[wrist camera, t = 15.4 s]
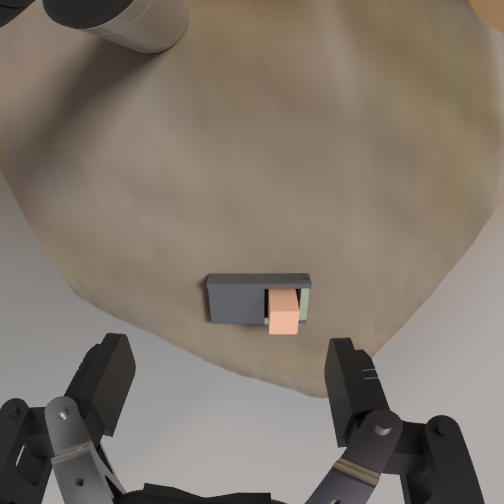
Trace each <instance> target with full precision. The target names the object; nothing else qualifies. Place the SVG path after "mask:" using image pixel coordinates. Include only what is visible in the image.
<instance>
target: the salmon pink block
mask: <svg viewBox="0 0 504 504" xmlns="http://www.w3.org/2000/svg"><path fill="white" fill-rule="evenodd" d="M299 312H300V311H299V306H298V300H297V295H296V290H295V289H268V323H269V334H297V330H298V321H299Z"/></svg>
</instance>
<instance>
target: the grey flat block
mask: <svg viewBox="0 0 504 504" xmlns="http://www.w3.org/2000/svg"><path fill="white" fill-rule="evenodd" d="M310 288H311V280H310V277H309V273H300V274H209V276H208V280H207V289H208V293H209V303H210V314H211V323H212V324H269V323H268V310H264V289H299V295H298V306H299V311H300V312H299V321H298V324H299V323H306V320H307V310H308V301H309V290H310Z"/></svg>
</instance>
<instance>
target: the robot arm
mask: <svg viewBox="0 0 504 504" xmlns="http://www.w3.org/2000/svg"><path fill="white" fill-rule="evenodd" d="M34 1H35V0H0V27H2V26H4V25H6V24H7V23H9V22H10V21H11V20H13V19H14V18H15V17H17V16H18V15H19V14H20V13H21V12H22V11H24V10H25V9H26V8H27V7H28V6H29V5H31V3H33V2H34ZM43 6H44V9H45V11H46V13H47V15H48V16H49V17H50V18H51V19H52V20H53V21H55V22H56V23H59V24H61V25H64V26H67V27H70V28H73V29H76V30H79V31H83V32H86V33H89V34H92V35H95V36H98V37H100V38H103V39H106V40H109V41H111V42H114V43H117V44H119V45H122V46H125V47H127V48H130V49H132V50H134V51H137V52H140V53H146V54H152V53H158V52H162V51H164V50H166V49H168V48H170V47H171V46H173V45H174V44H175V43H176V42H177V41H178V40H180V38H181V37H182V35H183V34H184V32H185V30H186V28H187V24H188V12H187V9H186V7H185V5H184V4H183V2H182V1H181V0H43ZM135 370H136V365H135V360H134V357H133V354H132V351H131V347H130V344H129V341H128V338H127V336H126V335H125V334H117V333H116V334H115V333H107V334H106V336H105V338H104V339H103V341H102V343H101V344H96V345H95V346H94V347H92V348H91V349H90V350H89V351H88V352H87V354H86V356H85V357H84V359H83V362H82V363H81V365H80V366H79V370H77V372H76V374H75V376H74V377H73V379H72V381H71V383H70V385H69V387H68V389H67V391H66V393H65V395H64V396H63V397H57V398H55V399H53V400H51V401H50V402H49V403H48V405H47V406H46V407H33V408H29V407H28V405H27V404H26V403H25V401H24V400H22V399H19V398H14V399H10V400H8V401H7V402H6V403H4V404H3V406H2V407H1V409H0V504H41V503H42V499H43V496H44V492H45V489H46V486H47V483H48V479H49V476H50V473H51V470H52V467H53V470H54V473H55V476H56V479H57V482H58V485H59V488H60V491H61V494H62V497H63V500H64V502H65V504H286V503H284V502H280V501H277V500H272V499H271V493H234V494H228V495H222V496H216V497H209V498H205V497H200V496H197V495H194V494H191V493H188V492H185V491H182V490H180V489H177V488H174V487H167V486H161V485H154V484H148V483H145V484H144V488H143V490H136V491H131V492H128V493H127V492H126V491H125V489H124V488H123V486H122V484H121V483H120V481H119V480H118V478H117V476H116V474H115V472H114V470H113V468H112V465H111V463H110V461H109V459H108V457H107V454H106V452H105V450H104V448H103V445H102V443H101V442H100V441H101V438H102V435H106V436H110V437H113V434H114V431H115V428H116V425H117V422H118V419H119V416H120V414H121V411H122V408H123V405H124V402H125V400H126V397H127V394H128V392H129V389H130V386H131V384H132V381H133V378H134V375H135ZM325 383H326V388H327V392H328V397H329V402H330V407H331V413H332V418H333V423H334V428H335V434H336V439H337V444H338V447H347V448H346V450H345V451H344V453H343V454H342V456H341V457H340V459H339V460H338V461H336V462H335V464H334V465H333V466H332V468H331V469H330V470H329V472H328V473H327V475H326V476H325V477H324V479H323V480H322V481H321V483H320V484H319V486H318V487H317V488H316V490H315V491H314V492H313V494H312V495H311V496H310V497H309V499H308V500H307V501H306V503H305V504H366V503H367V501H368V499H369V498H370V496H371V494H372V492H373V491H374V489H375V487H376V486H377V484H378V482H379V477H380V475H381V473H386V474H398V475H400V480H401V485H402V490H403V495H404V501H405V504H485V503H484V499H483V496H482V493H481V489H480V486H479V483H478V479H477V476H476V473H475V470H474V467H473V464H472V461H471V458H470V455H469V452H468V449H467V446H466V444H465V441H464V438H463V435H462V433H461V430H460V427H459V425H458V424H457V423H456V421H455V420H453V419H452V418H450V417H448V416H444V415H438V416H435V417H433V418H431V419H430V420H429V421H428V422H427V424H423V423H412V422H406V421H403V420H401V418H400V417H399V416H398V415H397V414H396V413H394V412H392V411H391V410H390V408H389V406H388V403H387V400H386V397H385V394H384V392H383V389H382V386H381V383H380V380H379V379H378V375H377V373H376V370H375V367H374V364H373V362H372V359H371V357H370V356H369V355H368V354H367V353H366V352H365V351H364V350H355V349H354V346H353V344H352V341H351V339H350V338H349V337H348V338H331V339H330V342H329V347H328V353H327V358H326V363H325ZM22 446H24V449H23V452H22V454H21V457H20V459H19V462H18V465H17V467H16V462H17V459H18V456H19V454H20V451H21V449H22Z"/></svg>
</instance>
